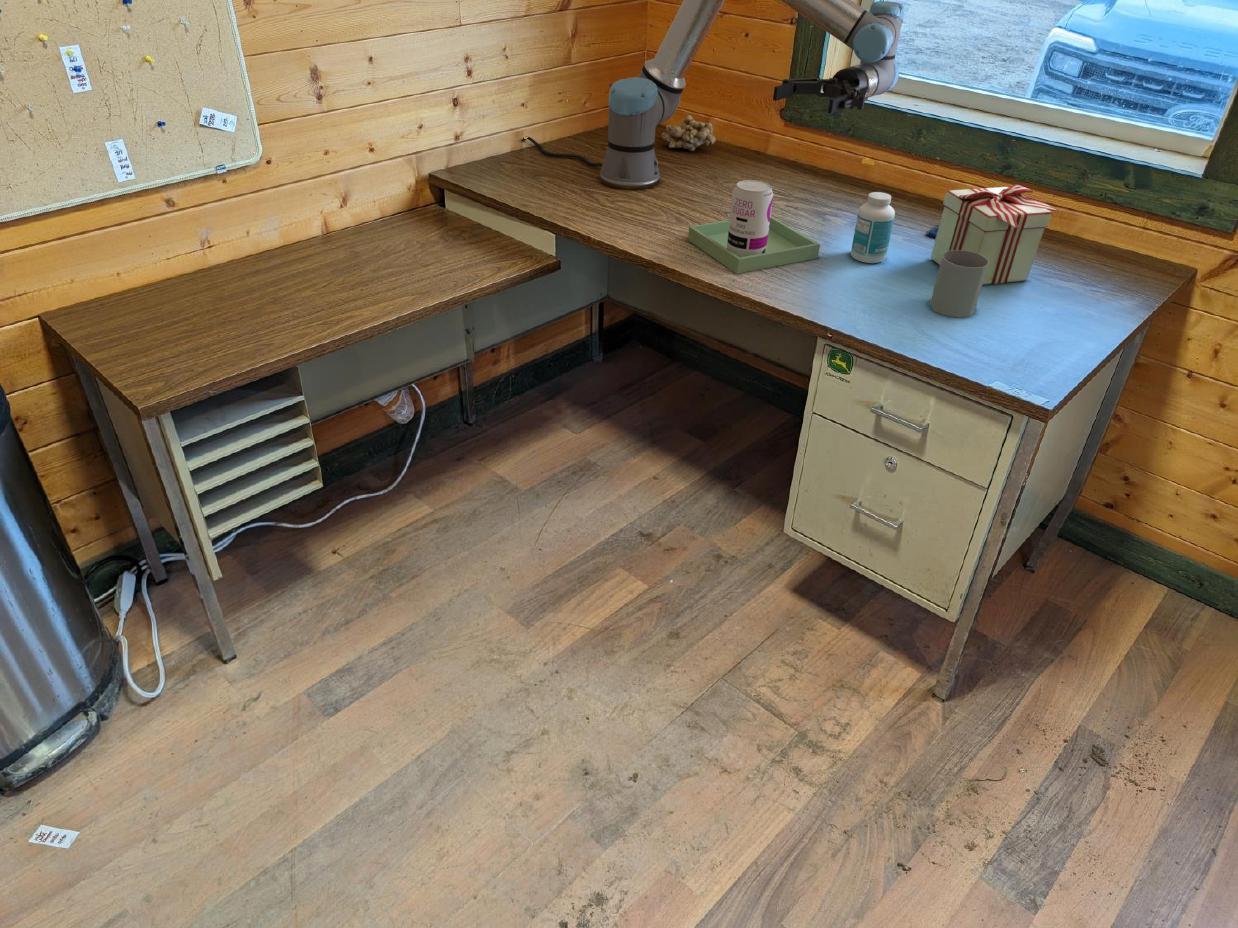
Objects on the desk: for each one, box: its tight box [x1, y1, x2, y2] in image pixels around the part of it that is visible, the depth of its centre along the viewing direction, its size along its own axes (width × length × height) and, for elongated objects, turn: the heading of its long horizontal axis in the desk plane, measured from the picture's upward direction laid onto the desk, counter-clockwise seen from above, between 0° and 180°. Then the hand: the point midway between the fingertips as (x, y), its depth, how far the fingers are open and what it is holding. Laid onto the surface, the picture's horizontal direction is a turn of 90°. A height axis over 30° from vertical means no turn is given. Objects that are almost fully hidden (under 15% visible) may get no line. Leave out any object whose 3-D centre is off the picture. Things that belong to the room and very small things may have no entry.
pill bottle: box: [850, 191, 896, 264], centre depth 185 cm, size 8×7×14 cm
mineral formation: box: [661, 114, 717, 152], centre depth 248 cm, size 8×13×15 cm
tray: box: [687, 215, 821, 274], centre depth 190 cm, size 20×21×3 cm
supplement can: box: [727, 179, 774, 257], centre depth 182 cm, size 8×8×15 cm
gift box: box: [930, 184, 1059, 286], centre depth 180 cm, size 17×18×17 cm
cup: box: [929, 250, 989, 319], centre depth 168 cm, size 8×8×10 cm
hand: (802, 100), depth 185 cm, fingers open, 13 cm apart
